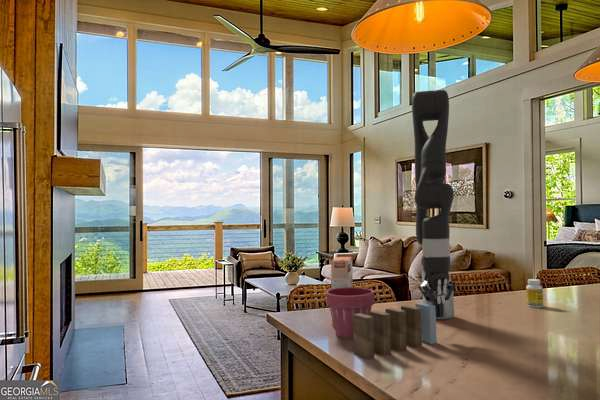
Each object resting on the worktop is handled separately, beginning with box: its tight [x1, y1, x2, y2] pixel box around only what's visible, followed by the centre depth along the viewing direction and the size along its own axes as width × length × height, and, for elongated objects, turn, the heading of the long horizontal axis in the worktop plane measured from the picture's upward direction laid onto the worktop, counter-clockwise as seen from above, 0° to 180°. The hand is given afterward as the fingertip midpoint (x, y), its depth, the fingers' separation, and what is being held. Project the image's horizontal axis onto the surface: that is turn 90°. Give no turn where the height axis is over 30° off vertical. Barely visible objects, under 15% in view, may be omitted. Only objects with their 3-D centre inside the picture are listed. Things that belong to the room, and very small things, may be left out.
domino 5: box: [414, 302, 438, 345], centre depth 130 cm, size 2×5×10 cm, turn 31°
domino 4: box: [400, 304, 423, 348], centre depth 127 cm, size 2×5×10 cm, turn 31°
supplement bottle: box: [525, 278, 544, 308], centre depth 171 cm, size 5×5×10 cm
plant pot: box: [325, 286, 375, 339], centre depth 140 cm, size 14×14×13 cm
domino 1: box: [353, 313, 375, 360], centre depth 119 cm, size 2×5×10 cm, turn 31°
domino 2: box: [370, 310, 392, 356], centre depth 121 cm, size 2×5×10 cm, turn 32°
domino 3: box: [384, 307, 408, 352], centre depth 124 cm, size 2×5×10 cm, turn 31°
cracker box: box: [330, 256, 354, 327], centre depth 156 cm, size 14×6×21 cm, turn 168°
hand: (438, 316), depth 132 cm, fingers closed
